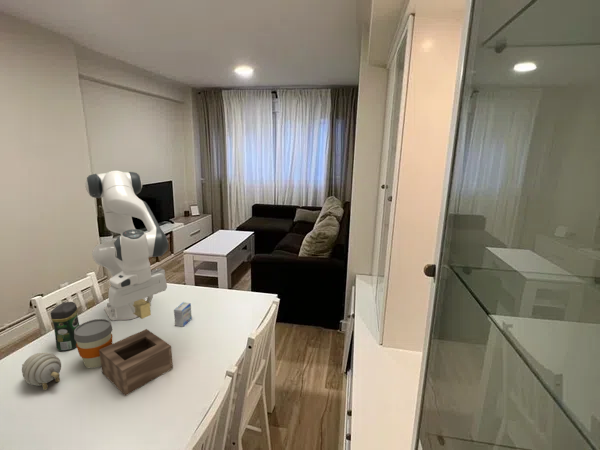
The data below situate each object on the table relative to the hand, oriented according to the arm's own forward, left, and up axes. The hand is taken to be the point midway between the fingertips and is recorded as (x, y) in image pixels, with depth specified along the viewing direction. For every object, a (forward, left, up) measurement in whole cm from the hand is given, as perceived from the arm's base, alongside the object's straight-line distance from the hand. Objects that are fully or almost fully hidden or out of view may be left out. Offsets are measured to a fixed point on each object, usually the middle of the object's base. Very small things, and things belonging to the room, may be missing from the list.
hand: (141, 309), depth 120 cm
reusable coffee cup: (-18, -11, -25) cm, 32 cm away
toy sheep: (-19, -28, -25) cm, 42 cm away
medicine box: (-17, +27, -25) cm, 41 cm away
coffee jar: (-38, -14, -25) cm, 47 cm away
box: (0, -4, -25) cm, 25 cm away
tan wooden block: (0, 0, -2) cm, 2 cm away
